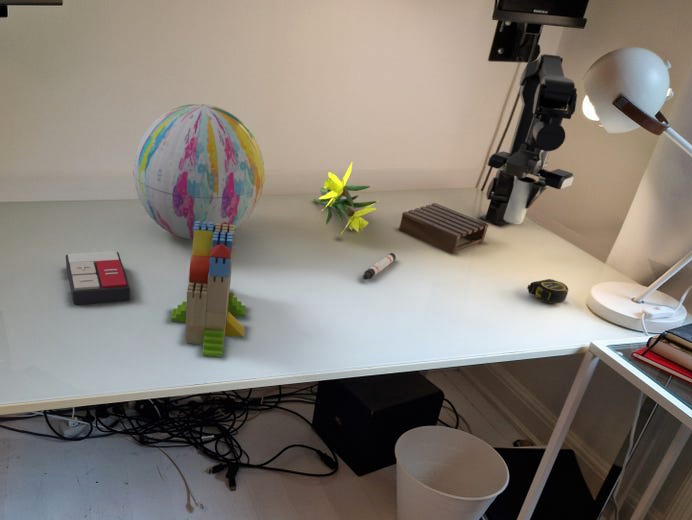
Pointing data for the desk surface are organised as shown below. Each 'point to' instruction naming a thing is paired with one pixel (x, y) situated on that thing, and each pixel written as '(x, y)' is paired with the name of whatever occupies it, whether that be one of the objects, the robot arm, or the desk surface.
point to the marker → (379, 266)
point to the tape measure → (549, 290)
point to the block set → (211, 290)
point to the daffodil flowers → (344, 200)
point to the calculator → (97, 277)
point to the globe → (198, 169)
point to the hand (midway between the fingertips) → (517, 204)
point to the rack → (442, 227)
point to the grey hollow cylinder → (519, 200)
